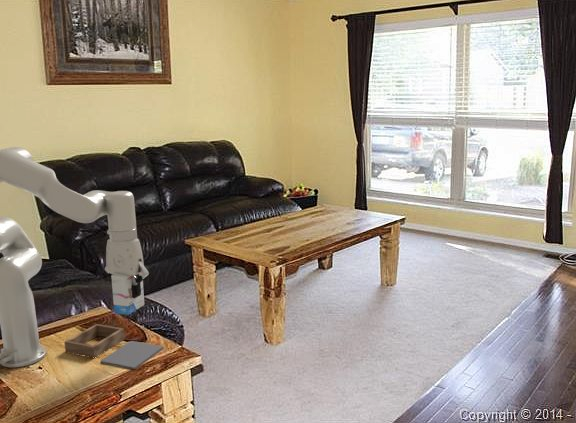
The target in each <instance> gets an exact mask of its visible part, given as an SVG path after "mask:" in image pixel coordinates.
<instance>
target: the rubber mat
mask: <svg viewBox="0 0 576 423" xmlns="http://www.w3.org/2000/svg"><path fill="white" fill-rule="evenodd" d="M162 350H164V346H162V345H157V344H151V343H146V342H140V341H136V340H135V341H134V340H130V341H129V342H126V343H125V344H124V345H123V346H121V347H119V348H118V349H116V350H115V351H113V352H112V353H110V354H108V355H107V356H106V357H103V359H102V360H100V363H102V364H106V365H111V366H116V367H120V368H125V369H131V370H136V369H138V368H139V367H141V365H143V364H144V363H146V362H147V361H148V360H150V359H151V358H153V357H154V356H155V355H156V354H158V353H159V352H160V351H162Z"/></svg>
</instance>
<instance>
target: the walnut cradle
mask: <svg viewBox="0 0 576 423" xmlns="http://www.w3.org/2000/svg"><path fill="white" fill-rule="evenodd" d="M98 336H99V337H103V339H101V340H100V341H98V342H97V343H95V344H88V342H89V340H90V341H91V340H93V339H95V338H97V337H98ZM124 340H126V331H125V328H124V327H123V328H122V327H118V326H117V327H116V326H112V325H107V324H100V323H95V324H93V325H92V326H90V327H89V328H87V329H84V330H83V331H81V332H79V333H78V334H75V335H74V336H72V337H70V338H69V339H67V340H65V341H64V349H65V353H66V352H69V353H68V354H70V353H74V354H73V355H75V354H79V355H78V356H80V355H85V356H89V357H88V358H90V357H94V358H93V359H96V358H98V357H99V356H101V355H102V354H104V353H105V352H104V351H106V350H107V351H109V350H110V349H112V348H113V347H115V346H117V345H118V344H119V343H121V342H124ZM87 341H88V342H87ZM85 342H86V343H87V344H86V343H85ZM84 343H85V344H84ZM114 345H115V346H114ZM111 347H112V348H111ZM109 348H110V349H109ZM108 349H109V350H108ZM107 351H106V352H107ZM103 352H104V353H103ZM101 353H102V354H101ZM100 354H101V355H100ZM98 355H99V356H98ZM85 356H84V357H85ZM97 356H98V357H97ZM95 357H96V358H95Z"/></svg>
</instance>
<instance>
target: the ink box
mask: <svg viewBox="0 0 576 423" xmlns="http://www.w3.org/2000/svg"><path fill="white" fill-rule="evenodd" d="M140 275H141V272H140ZM135 277H136V275H135ZM110 278H111V287H112V302H113V313H114V314H116V315H117V314H118V315H126V316H129V315H131V314H132V313H133V312H135V311H137V310H138V309H140V308H142V307H143V306H145V295H144V293H145V292H144V279H143V280H142V282H141V283H140V285H141V295H140V296H138V297H136V298H133V297H132V285H133V282H132V279H131V276H127V275H122V274H117V273H113V275H111V277H110ZM136 279H137V277H136Z"/></svg>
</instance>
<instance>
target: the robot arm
mask: <svg viewBox="0 0 576 423" xmlns="http://www.w3.org/2000/svg"><path fill="white" fill-rule="evenodd" d="M56 175H57V174H56V173H55V171H54V170H53V169H52V168H50V167H48V166H45V165H43V164H40V163H39V162H36V161H35V160H34V158H33V156H32V154H31V153H30V152H29V151H28V150H26V149H24V148H23V147H19V146H12V147H8V148H6V147H5V148H4V149H0V183H3V182H4V183H6V184H9V185H11V186H13V187H16V188H18V189H20V190H21V191H22V190H23V191H24V192H26V193H29V194H31V195H33V196H34V197H36V198H39V200H41V202H42V203H43V204H44V205H46V206H47V207H48V208H49V209H51V210H52V211H53V212H55V213H57V214H59V215H61V216H63V217H66V218H67V219H70V220H72V221H75V222H77V223H82V224H90V223H93V222H95V221H97V220H98V219H99V218H101V217H104V216H107V223H108V225H107V226H108V229H107V231H106V234H107V235H108V237H109V239H107V242H106V249H105V250H106V251H105V252H106V253H105V259H106V260H105V261H106V262H105V263H106V264H105V267H104V271H105V272H106V273H107V274H108V276H109V277H110V278H111V275H113V273H117V274H122V275H127V276H131V279H132V282H133V285H132V297H133V298H136V297H138V296H140V295H141V285H140V283H141V282H142V280H143V281H144V279H145V278H146V277H147V276H149V274H150V272H149V270H148V269H147V268H146V267H145V264H144V256H143V251H142V250H143V249H142V245H141V242H140V239H139V238H138V232H137V231H138V230H137V218H136V217H137V216H136V208H135V207H136V206H135V197H134V194H133V193H132V192H131V191H128V190H117V191H108V190H107V191H106V190H100V189H99V190H98V189H97V190H96V189H95V190H91V191H88V192H87V193H84V194H81V193H78V192H77V191H74V190H72V189H70V188H68V187H66V186H65V185H64V184H62V183H61V182H60V181H59V179H58V178H57V176H56ZM0 254H2V255H3V256H2V257H1V258H0V330H1V331H0V332H1V338H2V344H3V348H0V365H1V366H3V367H5V368H20V367H21V368H22V367H26V366H30V365H33V364H34V363H35V364H36V363H37V362H39V361H41V360H43V359H44V358H45V356H46V355H47V349H46V347H44V346H43V345H41V344H40V337H39V330H38V328H39V327H38V322H37V321H38V320H37V315H36V313H37V312H36V304H35V300H34V299H35V298H34V294H33V291H32V289H31V286H30V284H29V281H30V280H31V278H33V277H34V276H36V275H37V274H38V273H39V272H40V270H41V268H42V266H43V265H42V264H43V260H42V256H41V253H40V252H39V250H38V249H37V248H36V246H35V245H34V243H33V241H32V240H31V239H30V237H29V236H28V234H27V233H26V232H25V230H24V229H23V227H22V226H21V225H20V224H19V223H18V222H17V221H16V220H15V219H13V218H10V217H7V216H0ZM140 272H141V275H140ZM135 275H136V277H137V279H136V277H135Z"/></svg>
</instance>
